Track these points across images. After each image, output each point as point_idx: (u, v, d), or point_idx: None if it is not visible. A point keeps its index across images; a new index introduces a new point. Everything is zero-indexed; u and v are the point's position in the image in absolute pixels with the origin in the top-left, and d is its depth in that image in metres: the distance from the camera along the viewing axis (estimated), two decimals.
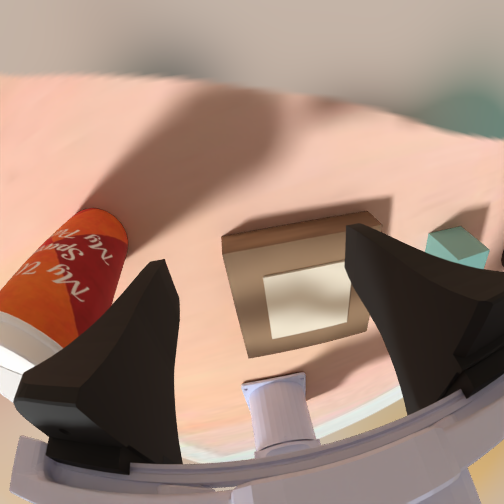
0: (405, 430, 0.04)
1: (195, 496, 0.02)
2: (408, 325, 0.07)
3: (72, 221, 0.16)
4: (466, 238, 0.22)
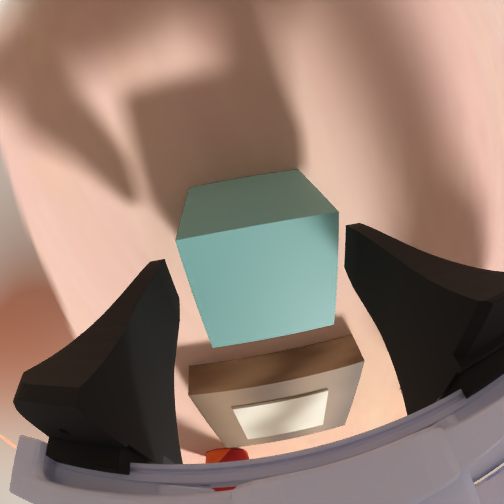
0: (405, 430, 0.04)
1: (195, 496, 0.02)
2: (408, 325, 0.07)
3: None
4: None
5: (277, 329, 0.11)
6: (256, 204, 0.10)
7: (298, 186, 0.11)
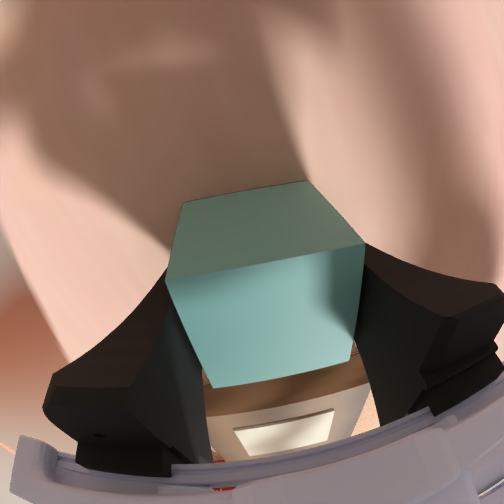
0: (405, 430, 0.04)
1: (195, 496, 0.02)
2: (378, 335, 0.07)
3: None
4: None
5: (286, 369, 0.09)
6: (263, 231, 0.08)
7: (312, 205, 0.09)
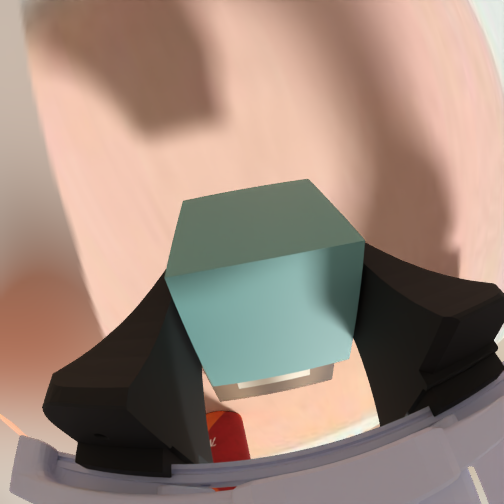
0: (405, 430, 0.04)
1: (195, 496, 0.02)
2: (378, 335, 0.07)
3: None
4: None
5: (286, 367, 0.09)
6: (263, 228, 0.08)
7: (312, 203, 0.09)
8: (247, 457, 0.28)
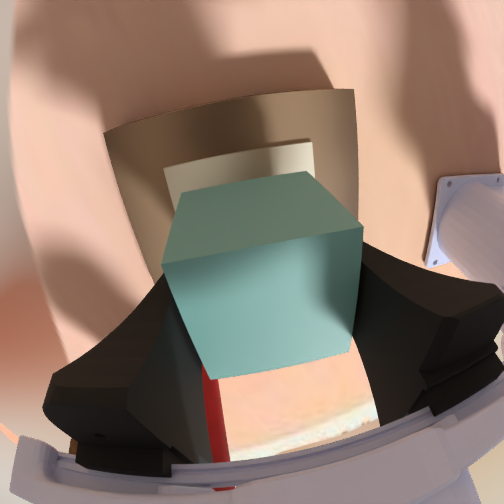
0: (405, 430, 0.04)
1: (195, 496, 0.02)
2: (378, 335, 0.07)
3: None
4: None
5: (285, 359, 0.09)
6: (260, 216, 0.08)
7: (310, 192, 0.09)
8: (220, 432, 0.19)
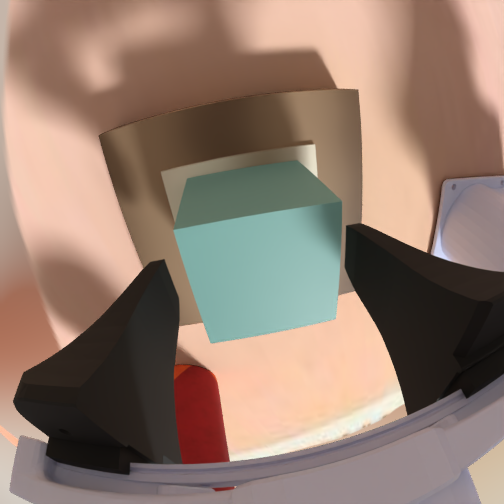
0: (405, 430, 0.04)
1: (195, 496, 0.02)
2: (408, 325, 0.07)
3: None
4: None
5: (278, 323, 0.10)
6: (256, 194, 0.09)
7: (299, 176, 0.10)
8: (220, 438, 0.18)
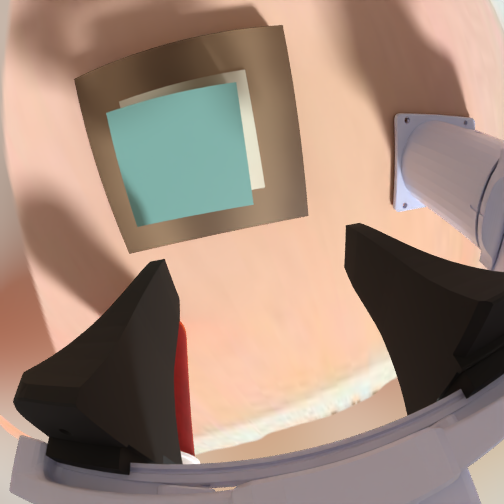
0: (405, 430, 0.04)
1: (195, 496, 0.02)
2: (408, 325, 0.07)
3: None
4: None
5: (195, 204, 0.11)
6: None
7: None
8: (179, 382, 0.19)
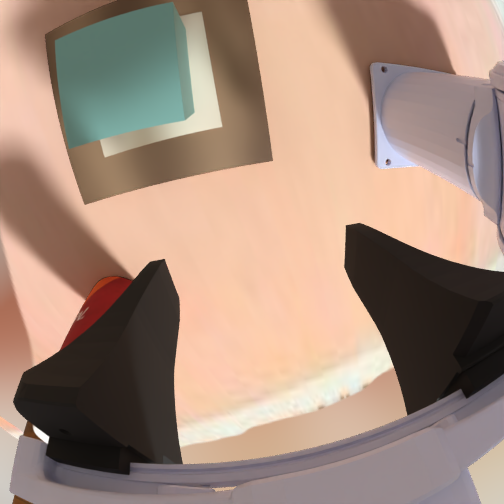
0: (405, 430, 0.04)
1: (195, 496, 0.02)
2: (408, 325, 0.07)
3: None
4: None
5: (124, 121, 0.09)
6: None
7: None
8: None
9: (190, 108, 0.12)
